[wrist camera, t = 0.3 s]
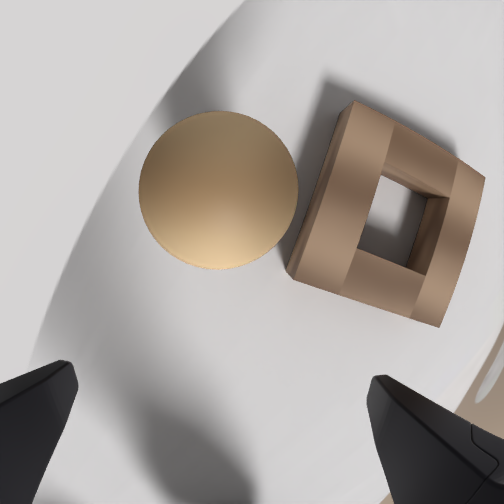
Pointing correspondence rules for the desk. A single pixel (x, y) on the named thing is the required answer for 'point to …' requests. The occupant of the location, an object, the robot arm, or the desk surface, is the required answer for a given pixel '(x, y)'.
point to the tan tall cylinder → (218, 190)
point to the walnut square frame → (357, 208)
